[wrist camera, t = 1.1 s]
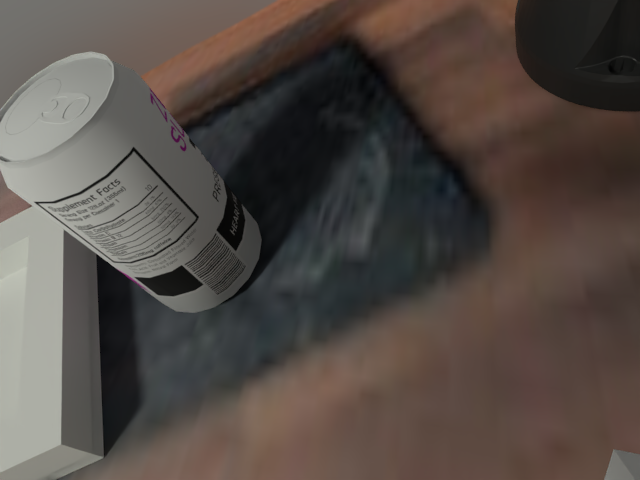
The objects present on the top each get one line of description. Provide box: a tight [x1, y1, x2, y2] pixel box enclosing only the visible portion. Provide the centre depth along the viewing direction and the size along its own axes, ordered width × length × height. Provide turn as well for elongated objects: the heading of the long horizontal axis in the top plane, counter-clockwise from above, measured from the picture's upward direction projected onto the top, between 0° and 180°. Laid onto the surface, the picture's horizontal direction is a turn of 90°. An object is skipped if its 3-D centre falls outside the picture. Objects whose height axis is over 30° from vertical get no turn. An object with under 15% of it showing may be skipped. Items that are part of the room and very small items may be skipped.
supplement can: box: [0, 52, 262, 313], centre depth 31 cm, size 8×8×15 cm
